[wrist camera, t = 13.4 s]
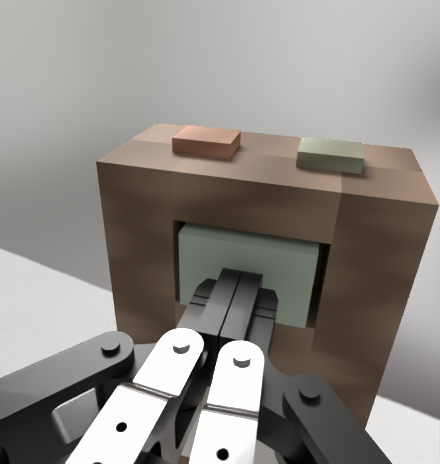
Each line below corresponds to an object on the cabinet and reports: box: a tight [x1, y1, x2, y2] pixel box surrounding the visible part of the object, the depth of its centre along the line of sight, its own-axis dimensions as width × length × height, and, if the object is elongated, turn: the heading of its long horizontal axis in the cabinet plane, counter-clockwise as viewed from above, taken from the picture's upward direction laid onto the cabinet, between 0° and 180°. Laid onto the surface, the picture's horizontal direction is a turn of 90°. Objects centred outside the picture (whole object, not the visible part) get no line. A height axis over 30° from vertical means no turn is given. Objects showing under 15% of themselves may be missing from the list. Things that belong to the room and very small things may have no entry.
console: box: [96, 123, 439, 464], centre depth 23 cm, size 12×6×28 cm, turn 76°
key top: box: [179, 222, 319, 328], centre depth 17 cm, size 5×3×3 cm, turn 76°
